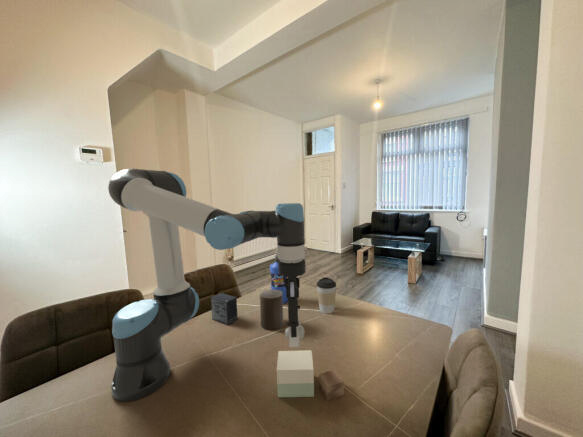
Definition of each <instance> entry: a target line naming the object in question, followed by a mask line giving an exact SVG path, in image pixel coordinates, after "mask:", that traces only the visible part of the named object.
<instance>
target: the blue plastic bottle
mask: <svg viewBox="0 0 583 437" xmlns="http://www.w3.org/2000/svg"><path fill="white" fill-rule="evenodd" d="M274 257H275V258H274V262H273V263H271V264H270V265H269V273H270V278H271V281H270V290H279V291H281V292H282V297H283V305H284V303H285V304H287V303H288V298H287V297H286V287H285V281H286V280H285V279H286V278H288V277H286V276H282V275H280V274H279V271H278V261H279V259H278V253H276V254H275V256H274ZM286 302H287V303H286Z"/></svg>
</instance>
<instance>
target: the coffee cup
mask: <svg viewBox="0 0 583 437" xmlns="http://www.w3.org/2000/svg"><path fill="white" fill-rule="evenodd" d="M316 287H317V300H318V309H319V312H320V311H321V312H320V313H322V314H325V313H330V314H333V313H334V312H335V303H336V292H337V291H336V287H337V283H336V281H335V280H334V279H332V278H329V277H328V276H327V277H322V278H320V279H319V280H318V281H317V282H316ZM333 311H334V312H333ZM332 312H333V313H332Z"/></svg>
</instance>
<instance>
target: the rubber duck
mask: <svg viewBox="0 0 583 437" xmlns="http://www.w3.org/2000/svg"><path fill="white" fill-rule="evenodd" d="M298 322H299V342H301V341H302V340H303V338H304V336H305V328H304V326H303V325H301V319H300V318H299V317H298ZM284 333H285V334H284V335H285V337H286V339H287V340H288V341H289V326H288V327H287V328H286V329H284Z"/></svg>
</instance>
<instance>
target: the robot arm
mask: <svg viewBox="0 0 583 437" xmlns="http://www.w3.org/2000/svg"><path fill="white" fill-rule="evenodd" d="M108 194H109V197H110V198H111V200H113V202H114V203H115V204H117V205H118V206H120V207H122V208H123V209H126V210H129V211H131V212H142V213H143V215H146V216H147V217H148V222H149V230H150V231H149V232H150V237H151V244H152V246H151V247H152V252H153V260H154V261H153V262H154V268H155V277H156V284H157V286H156V288H155V289H154V290H153V292H152V294H153V299H151V298H147V299H141V300H139V301H134V302H132V303H130V304H128V305H125V306H123V307H122V308H121V309H120V310H119V311H117V312H116V313H115V314H114V316H113V319H112V329H111V330H112V331H111V334H112V336H113V344H114V352H115V353H114V354H115V362H116V366H115V370H114V374H113V377H112V381H111V385H110V388H111V395H112V397H113V398H114V400H117V401H120V402H131V401H132V402H133V401H136V400H138V399H142V398H144V397H147V396H149V395H150V394H152V393H154V392H155V391H156V390H158V389H160V388H161V387H162V386H163V385H165V382H166V381H167V380H168V379H169V377H170V374H171V368H170V366H171V365H170V361H169V360H168V359H167V357H166V355H165V353H164V350H163V349H162V348H163V347H162V338H164V337H165V336H166V335H168V334H169V333H170V332H173V330H175V329H177V328H178V327H180V326H181V325H183V324H185V323H187V322H189V320H191V318H193V317H194V316H195V315H196V314H197V313H198V311H199V306H200V298H199V294H198V292H196V289H194V288H193V287H191V285H190V284H191V283H189V282H187V281H186V280H185V272H184V263H183V257H182V256H183V255H182V248H181V247H182V246H181V238H180V230H179V229H180V228H179V227H181V228H182V229H184V230H187V231H190V232H193V233H195V234H198V235H200V236H203V237H204V238H205V241H206V242H207V243H208V244H209V245H210V247H211V248H212V249H215V250H217V251H218V250H219V251H225V250H229V249H233V248H236V247H238V246H241V245H242V244H245V243H247V242H251V241H253V240H256V239H259V238H271V239H273V238H275V239H277V240H276V241H277V244H276V248H277V249H276V250H277V254H278V259H279V261H278V271H279V274H280V275H282V276H286V277H287V278H286V279H285V280H286V281H285V287H286V297H287V298H288V302H287V311H288V312H287V313H288V314H287V315H288V316H287V317H288V322H285V325H286V326H288V327H289V340H288V345H289V346H288V347H289V348H300V341H299V322H298V318H299V310H301V305H300V304H298V303H299V302H298V299H299V297H300V286H301V285H300V277H301V276H302V275H304V274H305V273H306V269H307V268H306V267H307V266H306V260H305V258H306V251H307V250H308V247H307V246H306V245H305V243H306V242H305V214H304V207H303V204H302V203H299V202H290V203H277V204H276V206H275V210H245V211H240V212H239V213H231V212H228V211H225V210H221V209H219V208H217V207H215V206H211V205H210V204H206V203H203V202H200V201H197V200H195V199H191V198H189V197H187V186H186V184H185V182H184V180H183V179H182V178H181V177H180V176H179V175H177V174H176V173H173V172H169V171H166V170H155V169H154V170H152V169H143V168H141V169H140V168H126V169H122V170H119V171H118V172H116V173H115V174H114V175H113V176H112V177H111V178H110V180H109V182H108ZM299 276H300V277H299ZM166 383H167V382H166Z"/></svg>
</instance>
